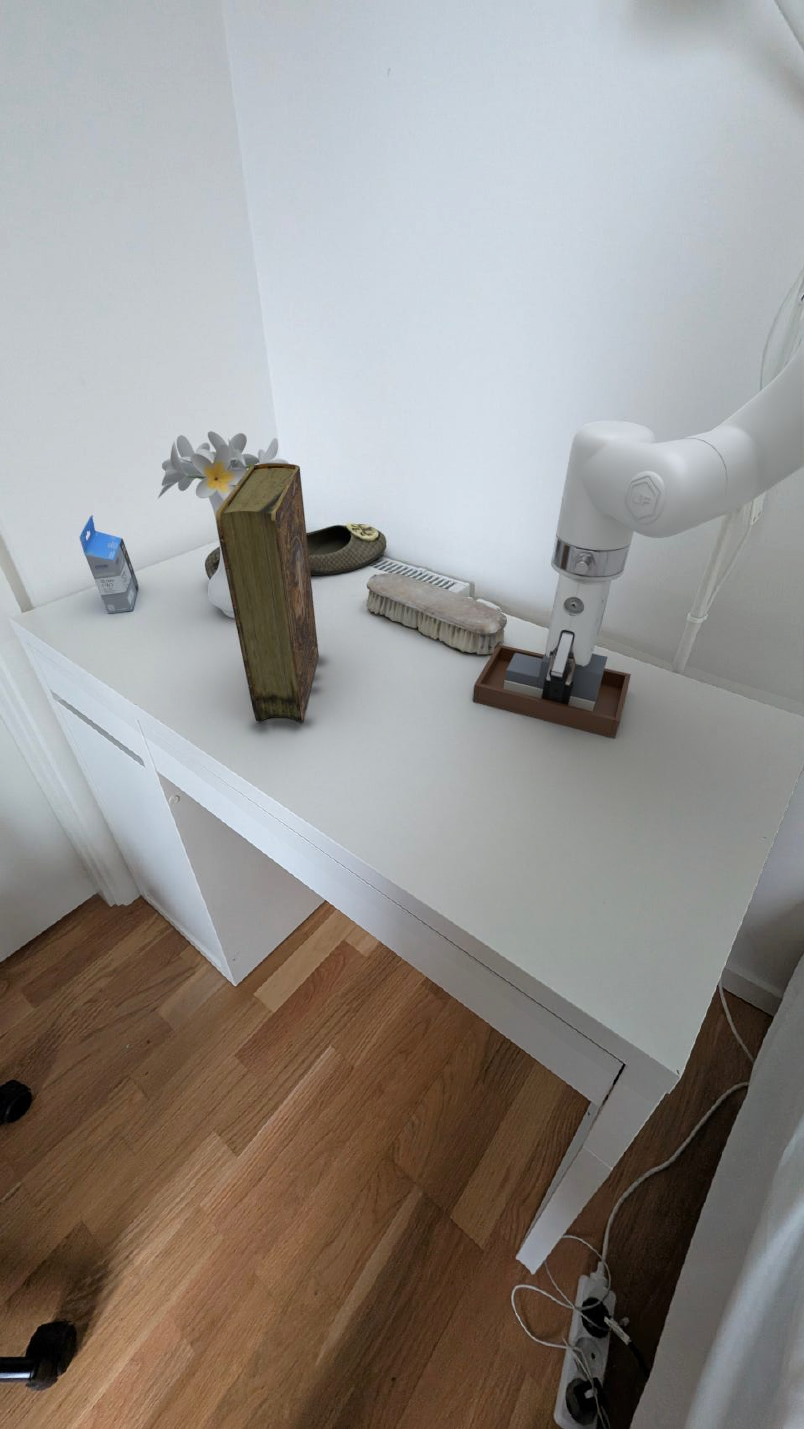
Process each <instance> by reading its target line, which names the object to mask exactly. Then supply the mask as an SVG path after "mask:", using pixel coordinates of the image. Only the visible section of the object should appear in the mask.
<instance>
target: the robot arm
mask: <svg viewBox="0 0 804 1429" xmlns="http://www.w3.org/2000/svg"><path fill="white" fill-rule="evenodd" d="M803 468H804V326H803V327H802V335H801V340H800V343H799V346H798V348H797V349H796V352H795V353H794V355H793V356H792V358H791V359H790V360H789V362H788V363H787V364H786V366H784V368H783V369H782V370H781V371H780V372H779V373H778V374H777V375H776V376H775V377H774V378H773V379H772V380H771V381H770V382H769V383H768V384H766V386H765V387H763V389H761V390H760V391H759V392H758V393H757V394H756V395H755V396H753V397H752V398H751V399H750V400H748V401H747V402H746V403H745V404H744V405H743V406H741V407H740V408H739V409H738V410H736V411H735V412H734V413H733V414H731V415H730V416H729V417H728V418H727V419H725V420H724V421H723V422H722V423H720V424H719V425H717V426H716V427H715V428H713V429H711V430H710V431H706V432H705V431H704V432H701V433H698V434H694V435H689V436H686V437H682V438H679V439H674V440H667V441H662V442H657V440H656V437H655V434H654V432H653V431H652V430H651V429H650V428H649V427H647V426H644V425H642V424H639V423H636V422H632V421H624V420H595V421H592V422H588V423H585V424H583V425H582V426H581V427H579V428H578V430H576V432H575V434H574V435H573V438H572V443H571V447H570V451H569V456H568V463H567V469H566V474H565V475H566V476H565V481H564V485H563V493H562V498H561V502H560V507H559V508H560V509H559V514H558V520H557V526H556V532H555V538H554V543H553V549H552V554H551V560H550V566H551V568H552V569H553V571H555V572H556V573H558V574H559V575H558V580H557V585H556V590H555V594H554V600H553V603H552V604H553V605H552V610H551V614H550V620H549V626H548V633H547V638H546V643H545V644H546V646H545V653H544V655H545V654H546V656H547V657H548V658H549V659H550V657H551V661H550V665H549V669H548V673H547V675H546V677H545V682H544V687H543V692H542V697H541V699H545V700H549V701H553V702H557V703H561V704H565V705H568V704H569V700H570V696H571V691H572V687H573V683H574V682H573V681H571V680H572V677H573V673H574V669H575V665H576V664H578V665H582V666H586V665H587V664H589V662H590V659H591V657H592V654H594V650H595V647H596V645H597V642H598V639H599V634H600V632H601V626H602V623H603V617H604V615H605V611H606V606H607V602H608V599H609V594H610V589H611V584H612V581H615V580H616V579H618V578H620V577H621V576H622V575H623V574H624V570H625V566H626V564H627V559H628V555H629V552H630V548H631V544H632V540H633V537H634V533H636V534H639V535H641V536H644V537H647V538H651V539H652V538H655V539H663V538H669V537H672V536H676V535H678V534H681V533H683V532H686V531H688V530H692V529H694V528H696V527H698V526H700V525H702V524H706V523H707V522H710V521H712V520H715V519H717V518H720V517H723V516H726V515H728V514H730V513H732V512H734V511H737V510H738V509H741V508H742V507H744V506H746V505H747V504H749V503H751V502H752V501H754V500H755V499H757V498H758V497H760V496H761V495H763V494H765V493H766V492H768V491H770V489H772V488H774V487H775V486H777V485H778V484H780V483H781V482H783V481H785V479H787V478H789V477H790V476H792V475H793V474H795V473H796V472H798V471H799V470H801V469H803ZM569 653H573V654H574V657H568V656H569ZM566 663H567V664H570V667H569V671H568V672H567V671H566V670H565V667H566Z"/></svg>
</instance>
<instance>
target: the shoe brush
mask: <svg viewBox="0 0 804 1429" xmlns="http://www.w3.org/2000/svg"><path fill="white" fill-rule="evenodd" d="M366 588H367V590H368V594H367V600H366V608H367V609H368V610H369V611H370V613H372V612H374V614H376V615H380V616H382V615H383V616H385V617H386V618H389V619H390V621H392V622H398V623H401V624H402V625H403V626H404V627H405V626H406V627H408V628H412V629H417V628H418V631H419V632H420V633H421V634H423V636H426V637H430V638H431V639H433V640H434V641H436V640H437V639H439V641H440V642H444V643H445V644H446V645H447V646H450V647H451V648H455V649H458V650H460V651H461V652H462V653H464V652H467V653H469V654H470V653H471V654H472V653H476V654H477V655H489V654H490V655H492V654H493V652H494V650H495V649H496V647H497V645H498V644H499V645H504V641H505V628H506V626H507V623H508V619H507V616H506V615H505V614H504V613H503V612H502V611H499V610H497V609H495V608H493V607H491V606H488V605H486V603H484V602H481V601H478V600H474V599H472V598H470V597H468V596H466V595H463V594H461V593H457V592H455V591H453V590H450V589H447V588H444V587H442V586H439V585H436V584H433V583H430V582H428V581H424V580H421V579H417V578H414V577H411V576H407V575H404V574H400V573H395V572H384V573H380V574H373V575H372V576H370V578H369V579H368V580H367V582H366Z"/></svg>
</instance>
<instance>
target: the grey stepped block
mask: <svg viewBox="0 0 804 1429" xmlns="http://www.w3.org/2000/svg"><path fill="white" fill-rule="evenodd" d="M568 657H574V654H573V653H569V656H568ZM550 661H551V657H550V659H549V658H548V657H547V656H546V654H545V653H544V657H543V659H540V658H536V657H531V656H527V655H523V654H518V653H515V654H514V656H513V658H512V660H511V662H510V664H509V666H508V668H507V669H506V676H505V681H504V688H503V689H505V690H509V691H513V692H517V693H521V694H525V695H529V696H533V697H537V698H541V697H542V692H543V687H544V682H545V677H546V675H547V673H548V669H549V665H550ZM607 661H608V656H606V655H601V654H597V653H593V654H592V657H591V659H590V662H589V664H587V665H586V666H582V665H578V664H576V665H575V669H574V673H573V677H572V680H571V681H573V682H574V683H573V687H572V691H571V696H570V700H569V704H568V705H569V706H573V707H577V708H581V709H585V710H589V711H593V708H594V705H595V701H596V698H597V695H598V691H599V687H600V684H601V680H602V676H603V672H604V669H605V668H606V665H607ZM569 667H570V664H567V663H566V667H565V670H566V671H567V672H568V671H569Z"/></svg>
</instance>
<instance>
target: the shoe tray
mask: <svg viewBox="0 0 804 1429" xmlns="http://www.w3.org/2000/svg"><path fill="white" fill-rule="evenodd" d="M515 653H518V654H523V655H527V656H531V657H536V658H540V659H543V657H544V655H545V653H544V654H543V653H540V652H534V651H530V650H526V649H521V648H515V647H513V646H508V645H504V644H502V645H499V644H498V645H497V644H496V646H495V650H494V652H493V653H491V654H490V657H489V659H488V660H487V662H486V664H485V666H484V667H483V669H482V671H481V672H480V674H479V676H478V678H477V680H476V681H475V682H474V685H473V693H472V702H474V703H477V704H481V705H485V706H489V707H493V708H497V709H500V710H503V711H504V710H505V711H508V712H512V713H516V714H520V715H522V716H527V717H531V718H535V719H538V720H543V721H546V722H550V723H555V724H557V725H561V726H565V727H569V728H574V729H577V730H580V731H585V732H588V733H592V734H595V735H600V736H603V737H608V738H612V739H616V736H617V733H618V729H619V726H620V723H621V719H622V714H623V711H624V707H625V702H626V698H627V694H628V689H629V684H630V680H631V677H632V676H631V675H632V673H627V672H623V671H619V670H614V669H611V668H606V667H605V669H604V672H603V676H602V680H601V684H600V687H599V691H598V695H597V698H596V701H595V705H594V708H593V711H589V710H585V709H581V708H577V707H573V706H569V705H565V704H561V703H557V702H553V701H549V700H545V699H541V698H537V697H533V696H529V695H525V694H521V693H517V692H513V691H509V690H505V689H503V688H504V681H505V676H506V669H507V668H508V666H509V664H510V662H511V660H512V658H513V656H514V654H515Z"/></svg>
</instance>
